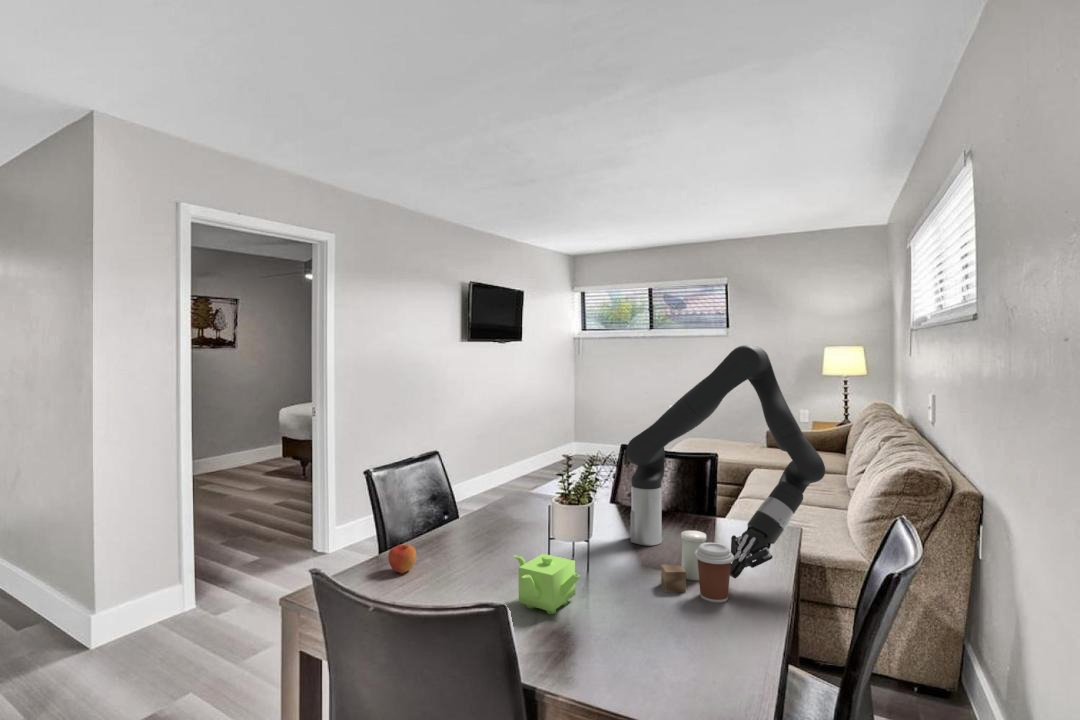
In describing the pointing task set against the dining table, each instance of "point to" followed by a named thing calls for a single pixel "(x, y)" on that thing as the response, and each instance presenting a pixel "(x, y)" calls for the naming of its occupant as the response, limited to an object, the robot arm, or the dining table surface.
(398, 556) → the apple
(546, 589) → the kettle
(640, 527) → the robot arm
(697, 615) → the dining table surface
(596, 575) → the dining table surface
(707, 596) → the coffee cup
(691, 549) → the canister
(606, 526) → the dining table surface
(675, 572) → the walnut block
